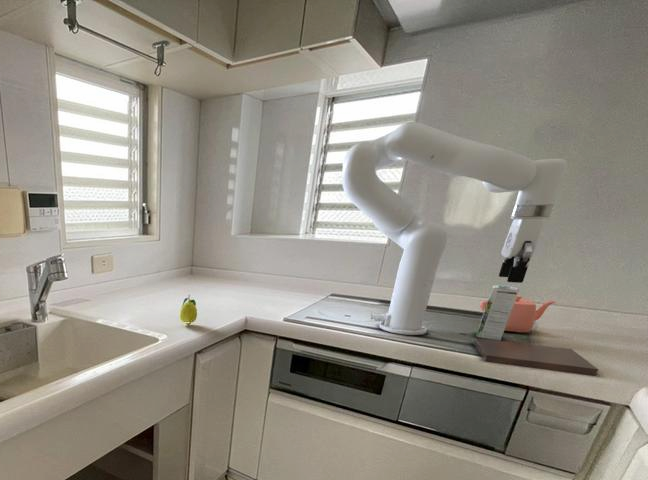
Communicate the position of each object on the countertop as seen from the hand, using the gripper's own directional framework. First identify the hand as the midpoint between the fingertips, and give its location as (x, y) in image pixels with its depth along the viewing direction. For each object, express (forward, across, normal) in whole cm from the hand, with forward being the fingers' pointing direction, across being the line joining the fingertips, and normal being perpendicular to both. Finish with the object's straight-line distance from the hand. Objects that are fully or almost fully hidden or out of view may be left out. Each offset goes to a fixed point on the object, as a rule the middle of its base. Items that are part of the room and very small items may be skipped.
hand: (509, 279), depth 111 cm
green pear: (+16, +29, -84) cm, 90 cm away
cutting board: (+17, +17, +4) cm, 24 cm away
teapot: (+17, -13, +6) cm, 22 cm away
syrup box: (+17, 0, -1) cm, 17 cm away
